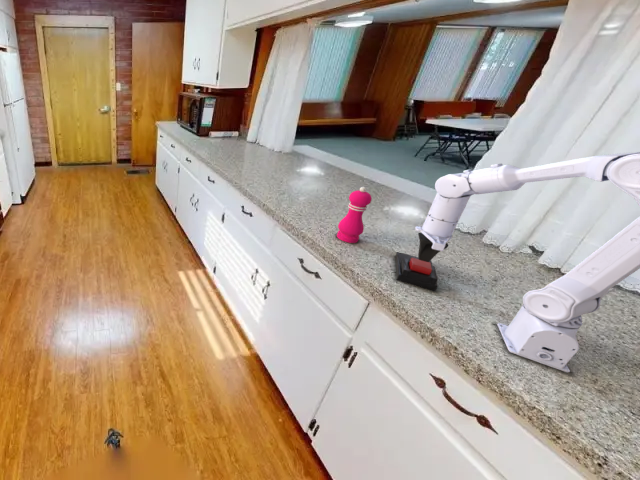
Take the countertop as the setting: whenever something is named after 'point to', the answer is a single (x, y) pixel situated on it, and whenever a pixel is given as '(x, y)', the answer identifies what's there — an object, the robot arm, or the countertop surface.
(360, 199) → the pepper mill
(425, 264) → the block
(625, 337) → the countertop surface
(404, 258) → the press
